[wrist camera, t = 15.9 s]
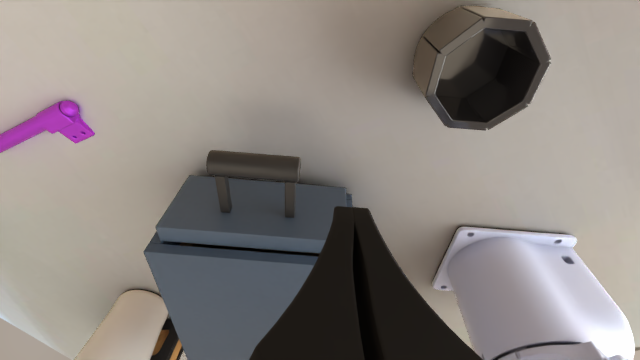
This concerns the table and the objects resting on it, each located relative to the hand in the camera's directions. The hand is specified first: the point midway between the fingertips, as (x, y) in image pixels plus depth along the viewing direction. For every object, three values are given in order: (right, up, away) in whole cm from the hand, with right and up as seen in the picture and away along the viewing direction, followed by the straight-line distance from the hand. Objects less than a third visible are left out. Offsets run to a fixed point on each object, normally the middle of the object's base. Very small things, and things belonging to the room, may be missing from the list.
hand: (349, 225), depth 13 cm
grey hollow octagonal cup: (+7, +9, +5) cm, 12 cm away
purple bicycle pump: (-24, +4, +11) cm, 26 cm away
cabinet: (-5, -4, +15) cm, 17 cm away
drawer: (-5, -2, +12) cm, 13 cm away
